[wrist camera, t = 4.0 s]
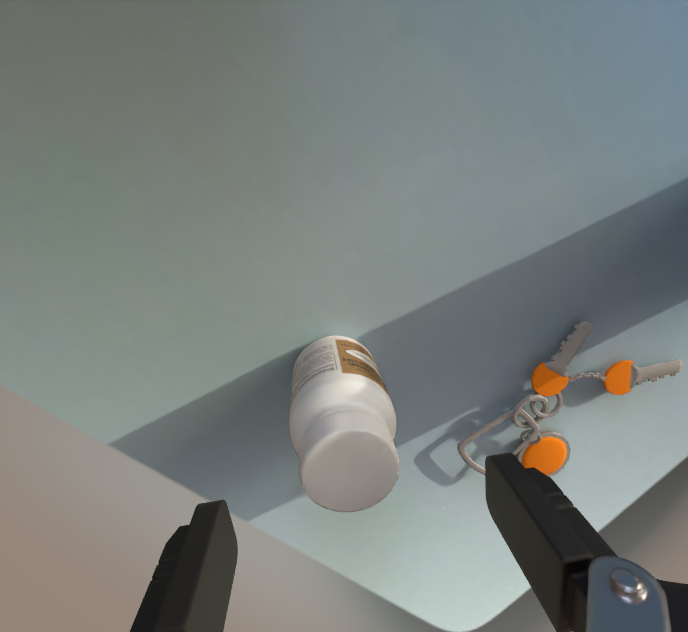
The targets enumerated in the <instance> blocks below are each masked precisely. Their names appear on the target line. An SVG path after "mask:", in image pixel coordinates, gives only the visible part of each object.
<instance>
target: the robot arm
mask: <svg viewBox="0 0 688 632" xmlns="http://www.w3.org/2000/svg"><path fill="white" fill-rule="evenodd" d="M485 480H486V501H487V505H488V509H489V512H490V514H491V516H492V518H493V520H494V522H495V524H496V525H497V527H498V529H499V531H500V533H501V534H502V536H503V538H504V540H505V541H506V543H507V545H508V547H509V548H510V550H511V552H512V554H513V556H514V557H515V559H516V561H517V563H518V564H519V566H520V568H521V570H522V571H523V573H524V575H525V577H526V579H527V580H528V582H529V584H530V586H531V587H532V589H533V591H534V593H535V594H536V596H537V598H538V600H539V601H540V603H541V605H542V607H543V609H544V610H545V612H546V614H547V615H548V617H549V619H550V621H551V623H552V624H553V626H554V628H555V630H556V632H571V631H573V632H688V584H681V583H675V582H667V581H662V580H658V579H655V578H654V577H653V576H652V575H651V574H650V573H649V572H648V571H647V570H645V569H644V568H642V567H641V566H639V565H638V564H636V563H634V562H632V561H629V560H627V559H624V558H621V557H618V556H617V555H616V554H615V553H614V552H613V550H612V549H611V548H610V547H609V546H608V545H607V544H606V542H605V541H604V540H603V539H602V538H601V536H600V535H599V534H598V533H597V532H596V531H595V529H594V528H593V527H592V526H591V525H590V523H589V522H588V521H587V520H586V519H585V518H584V516H583V515H582V514H581V513H580V512H579V511H578V509H577V508H576V507H575V508H574V506H573V504H572V502H571V501H570V500H569V499H568V498H567V496H566V495H564V494H563V492H562V491H561V489H560V488H559V487H558V486H557V485H556V484H555V482H554V481H553V480H552V479H551V478H550V477H548V476H547V475H545V474H544V473H542V472H541V471H539V470H538V469H536V468H534V467H532V468H526V469H525V468H524V466H523V465H522V464H521V463H520V461H519V460H518V459H517V457H516V456H515V455H514V454H513V453H504V454H498V455H492V456H487V457H486V460H485ZM237 554H238V547H237V539H236V535H235V531H234V528H233V524H232V521H231V517H230V514H229V510H228V507H227V503H226V501H225V500H219V501H213V502H207V503H201V504H198V505H197V507H196V509H195V511H194V515H193V517H192V520H191V522H190V525H186V526H180V527H179V528H178V529H177V531H176V532H175V533H174V534H173V535H172V537H171V538H170V539H169V540H168V542H167V543H166V545H165V547H164V550H163V552H162V554H161V557H160V559H159V565H157V567H156V569H155V572H154V574H153V576H152V578H153V579H152V581H150V584H149V586H148V589H147V591H146V594H145V596H144V598H143V601H142V603H141V606H140V608H139V611H138V613H137V615H136V618H135V620H134V623H133V625H132V628H131V630H130V632H223V629H224V624H225V619H226V613H227V609H228V604H229V599H230V594H231V589H232V584H233V579H234V574H235V568H236V563H237Z"/></svg>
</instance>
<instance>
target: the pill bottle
mask: <svg viewBox="0 0 688 632" xmlns="http://www.w3.org/2000/svg"><path fill="white" fill-rule="evenodd" d="M395 432H396V415H395V411H394V407H393V405H392V402H391V399H390V397H389V395H388V392H387V390H386V387H385V385H384V383H383V381H382V378H381V376H380V374H379V371H378V368H377V366H376V364H375V361H374V359H373V357H372V355H371V354H370V352H369V351H368V350H367V349H366V348H365V347H364V346H363V345H362V344H361V343H359V342H358V341H356V340H354V339H351V338H348V337H343V336H327V337H324V338H321V339H318V340H316V341H314V342H312V343H311V344H309V345H308V346H307V347H306V348H305V349H304V350H303V351H302V352H301V353H300V355H299V356H298V358H297V360H296V362H295V365H294V369H293V377H292V389H291V401H290V415H289V433H290V438H291V442H292V445H293V447H294V449H295V451H296V452H297V454H298V455H299V466H300V479H301V483H302V486H303V488H304V490H305V492H306V494H307V495H308V496H309V497H310V498H311V499H312V500H313V501H314V502H315V503H316V504H318V505H320V506H322V507H324V508H326V509H329V510H333V511H337V512H355V511H360V510H364V509H367V508H369V507H372V506H374V505H375V504H377V503H379V502H380V501H381V500H383V499H384V498H385V497H386V496H387V495H388V494H389V493H390V492H391V490H392V489H393V487H394V486H395V484H396V481H397V479H398V475H399V467H400V466H399V458H398V454H397V451H396V448H395V445H394V442H393V440H394V437H395Z"/></svg>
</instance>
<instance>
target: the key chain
mask: <svg viewBox="0 0 688 632" xmlns="http://www.w3.org/2000/svg"><path fill="white" fill-rule="evenodd" d="M574 327H575V328H576V329H575V331H574V332H573V334H572V335H570V334H569V335H568V336H567V338H568V341H567V342H564V341H562V342H561V346H560V348H559V349H561V351H560V353H558V352H556V354H555V355H553V356H552V357H551V359H553V361H550V362H547V363H543V362H542V363H541V364H540V365H539V366H538V367H537V368H536V369H535V370H534V373H533V375H532V378H531V380H532V387H533V388H534V389H535V392H534V394H533V395H530V396H527V397H525V398H523V399H522V400H520V401H519V402H518V403H517V404H516V405H515V407H514V408H513V409H511V410H509V411H507V412H505V413H504V414H502V415H500V416H499V417H497V418H495V419H494V420H492V421H490V422H488V423H487V424H485V425H484V426H482V427H480V428H479V429H477V430H476V431H474V432H472V433H471V434H469V435H468V436H466V437H465V438H464V439H463V440H461V441H460V442H459V443H458V447H457V448H458V452H459V453H460V455H461V457H462V458H463V460H464V461H465V462H466V463H467V464H468V465H469V466H470V467H471V468H473V469H474V470H476V471H478V472H480V473H482V474H484V475H485V469H484V468H482V467H481V466H479V465H478V464H476V463H475V462H474V461H473V460H472V459H471V458H470V457H469V456H468V454H467V453H466V451H465V446H466V445H467V444H469V443H470V442H471V441H472V440H474V439H475V438H477V437H478V436H480V435H482V434H483V433H485V432H486V431H488V430H490V429H491V428H493V427H495V426H496V425H498V424H500V423H501V422H503V421H505V420H506V419H508V418H510V417H512V422H513V423H514V424H515V425H516V426H517V427H521V428H529V427H531V428H532V430H526V431H524V432H522V433H521V435H520V438H521V440H522V441H523V442H522V443H521V444H520V445H519V446H518V447H517V448H516V449H515V450H514V451H513V452H512V453H513V454H514V455H516V454H517V453H518V454H517V459H518V460H519V461H520V463H521V464H522V465H523V466H524V468H525V469H526V468H532V467H534V468H536V469H538V470H539V471H541V472H542V473H544V474H545V475H547V476H548V477H550V476H552V475H555V474H556V473H558V472H559V471H560V470H561V469H562V468H564V466H565V465H566V463H567V461H568V460H569V456H570V446H569V443H568V441H567V440H566V439H564V438H563V437H562V436H561V435H560V434H558V433H555V432H551V431H550V432H540V428H539V426H538V425H537V424H538V423H539V422H541V420H542V419H543V418H547V417H552V416H554V415H555V414H556V413H558V412H559V410H560V408H561V407H562V402H563V398H562V395H561V392H560V391H562V390H563V389H564V388H565V387H566V385H567V384H568V383H570V382H572V381H575V380H577V379H583V378H593V377H594V378H595V379H601V380H602V381H603V383H604V387H605V389H606V390H608V391H609V392H611V393H612V394H617V395H623V394H625V393H627V392H629V391H631V388H632V387H633V386H634V385H635V384H637V385H639V384H642V382H645V381H646V379H648V381H652V382H654V381H657V377H659V378H660V379H661V378H664V375H668V374H670V376H675V375H676V373H678V372H680V370H681V368H682V362H681V360H680V359H678V360H673V361H669V362H664V363H659V364H654V365H649V366H645V367H640V368H638V367H637V366H635V365H634V364H633V361H625V360H622V361H620V362H617V363H615V364H613V365H612V366H611V367H610V368H609V369H608V370H607V371H606V373H605V376H604V375H603V376H602V375H601V374H598V373H595V374H594V373H593V372H587V373H579V374H577V375H576V374H575V375H572V376H570V377H568V376H567V368H566V366H567V365H568V364H569V362H570V361H571V359H572V358H573V356H574V355H575V353H576V352H577V350H578V349H579V348H580V346H581V345H582V343H583V342H584V340H585V339H586V337H587V336H588V334H589V333H590V332H591V330H592V329H593V327H592V326H591V324H590V323H589V322H584V321H581V322H580V323H579V324H577V323H576V324H575V326H574ZM555 394H556V395H557V398H558V401H557V405H556V406H555V408H554V409H553V410H552V411H550V412H549V413H547V412H548V410H549V407H548V400H547V399H546V398H545V397H544V396H552V395H555ZM541 395H543V396H541ZM535 400H539V401H541V403H542V406H543V407H542V409H541V411H540V412H539V411H538V410H537V409H536V407H535ZM529 402H530V407H531V410H532V412H533V413H534V414H535V415H536V417H535V418H534V419H533V418H532V417H531V416H530V415H529V414H528V413H527V412H526V411H524V410H523V409H522V408H523V406H524V405H526V404H527V403H529ZM518 415H520V416H521V417H522V418H523V419H524V420H525V421H526V422H523V423H522V422H520V421H519V420H518V419H517V416H518ZM527 433H530V434H528V435H527V436H528V438H526V439H524V438H523V436H524V435H525V434H527Z"/></svg>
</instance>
